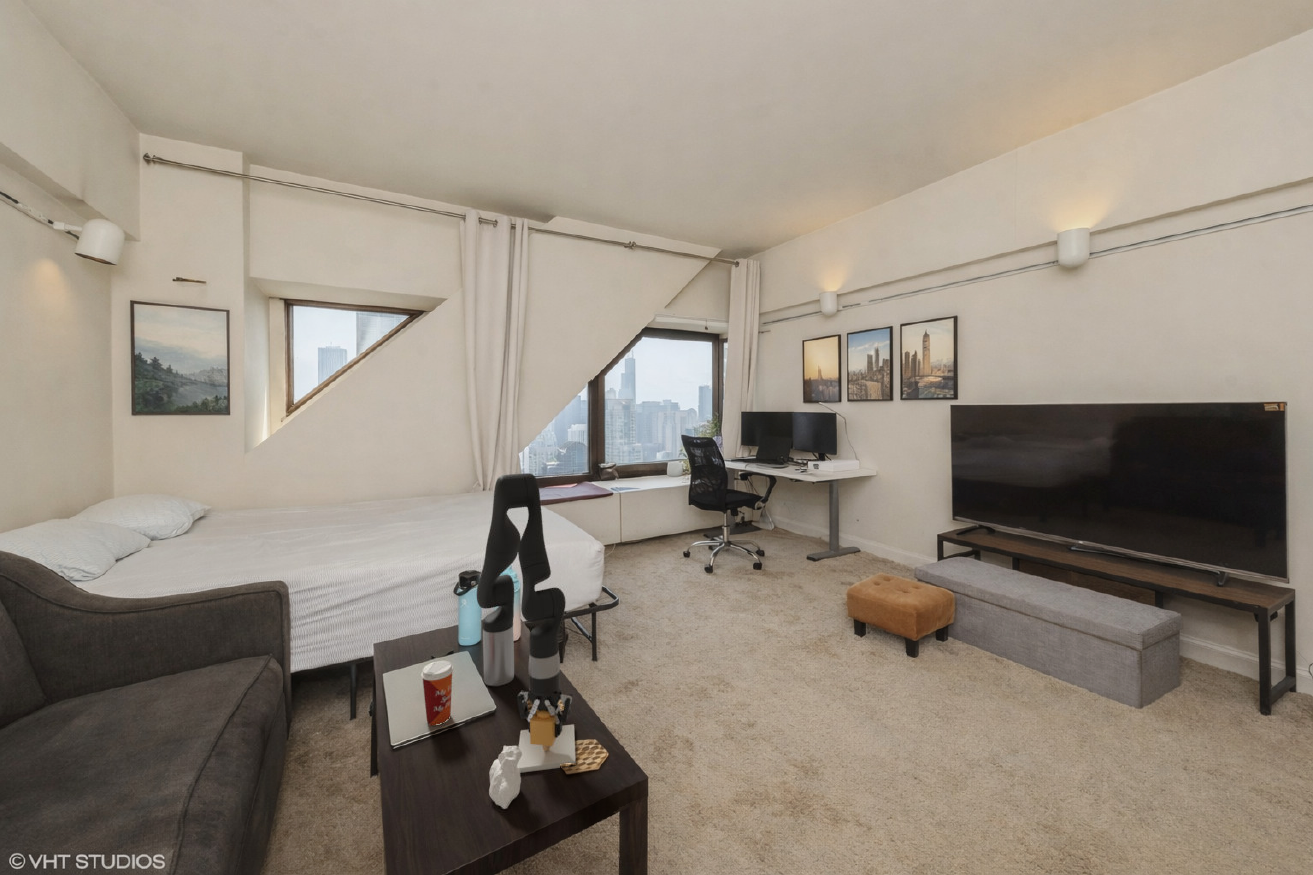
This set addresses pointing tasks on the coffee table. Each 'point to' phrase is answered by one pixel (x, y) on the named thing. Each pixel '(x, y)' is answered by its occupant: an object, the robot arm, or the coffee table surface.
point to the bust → (505, 776)
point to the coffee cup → (437, 691)
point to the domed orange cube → (542, 728)
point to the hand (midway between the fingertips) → (545, 734)
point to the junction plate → (547, 751)
